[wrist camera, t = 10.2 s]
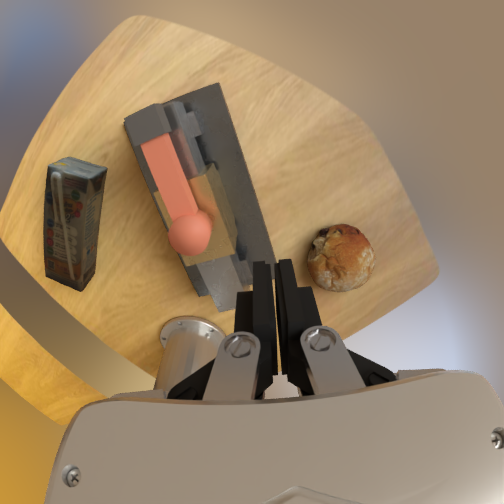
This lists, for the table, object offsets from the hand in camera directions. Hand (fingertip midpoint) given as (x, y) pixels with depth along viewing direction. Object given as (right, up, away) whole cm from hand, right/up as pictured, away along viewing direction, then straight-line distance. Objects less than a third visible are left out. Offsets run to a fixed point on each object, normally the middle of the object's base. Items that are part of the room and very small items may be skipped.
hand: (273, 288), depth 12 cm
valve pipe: (-7, +8, +24) cm, 26 cm away
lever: (-9, +9, +14) cm, 19 cm away
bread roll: (+12, +2, +28) cm, 31 cm away
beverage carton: (-28, +7, +25) cm, 38 cm away
